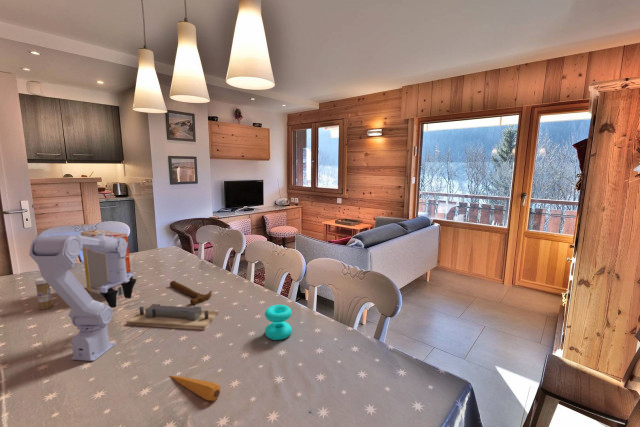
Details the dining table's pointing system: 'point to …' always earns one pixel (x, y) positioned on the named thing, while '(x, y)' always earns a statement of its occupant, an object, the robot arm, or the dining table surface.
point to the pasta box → (101, 263)
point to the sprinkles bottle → (43, 293)
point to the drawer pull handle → (173, 312)
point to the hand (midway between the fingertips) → (120, 302)
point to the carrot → (200, 387)
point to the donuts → (278, 322)
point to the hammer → (191, 293)
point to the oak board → (173, 321)
